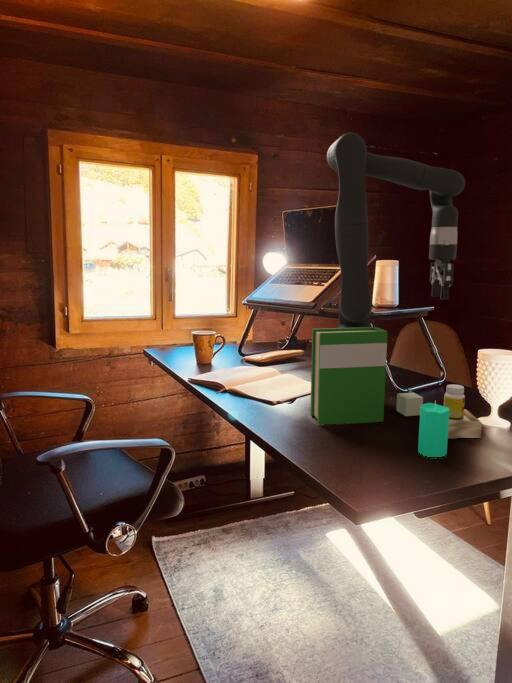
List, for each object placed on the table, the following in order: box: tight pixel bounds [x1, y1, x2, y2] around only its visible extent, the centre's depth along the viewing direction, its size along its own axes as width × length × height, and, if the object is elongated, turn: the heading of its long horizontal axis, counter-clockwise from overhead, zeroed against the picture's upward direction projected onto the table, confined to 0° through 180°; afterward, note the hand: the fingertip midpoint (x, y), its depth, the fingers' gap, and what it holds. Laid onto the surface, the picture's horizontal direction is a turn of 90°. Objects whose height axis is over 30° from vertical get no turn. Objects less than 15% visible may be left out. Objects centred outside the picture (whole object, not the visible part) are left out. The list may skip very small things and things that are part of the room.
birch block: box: [448, 409, 483, 439], centre depth 121 cm, size 10×10×4 cm
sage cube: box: [396, 392, 424, 417], centre depth 135 cm, size 5×5×5 cm
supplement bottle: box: [443, 384, 466, 421], centre depth 120 cm, size 5×5×8 cm
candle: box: [417, 400, 450, 458], centre depth 107 cm, size 6×6×12 cm
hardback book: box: [310, 326, 388, 425], centre depth 129 cm, size 18×7×24 cm, turn 99°
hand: (439, 298), depth 147 cm, fingers open, 8 cm apart
